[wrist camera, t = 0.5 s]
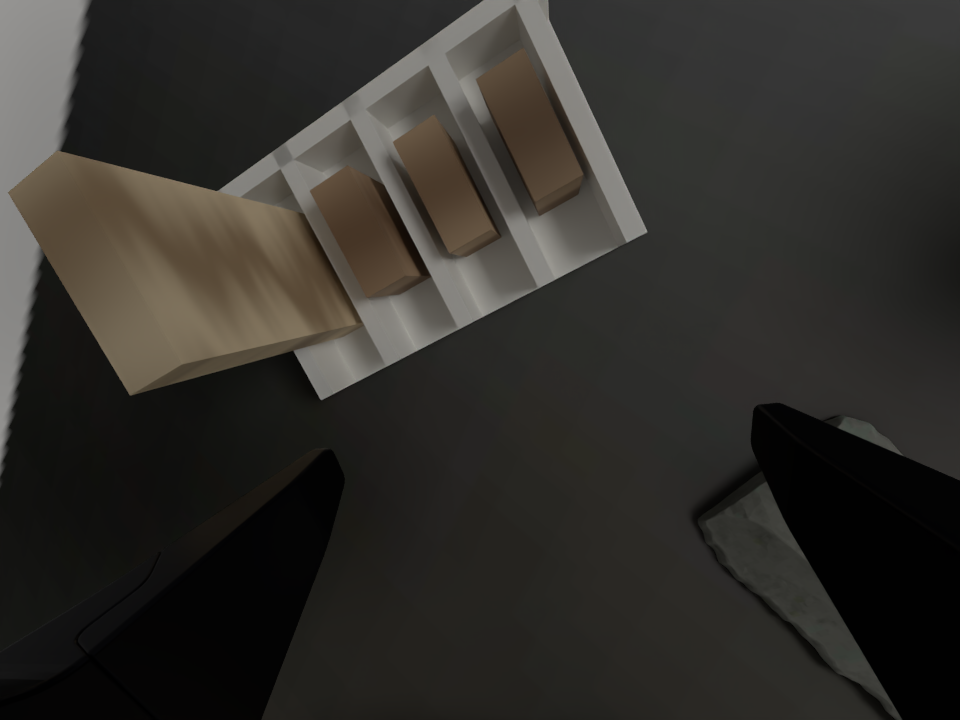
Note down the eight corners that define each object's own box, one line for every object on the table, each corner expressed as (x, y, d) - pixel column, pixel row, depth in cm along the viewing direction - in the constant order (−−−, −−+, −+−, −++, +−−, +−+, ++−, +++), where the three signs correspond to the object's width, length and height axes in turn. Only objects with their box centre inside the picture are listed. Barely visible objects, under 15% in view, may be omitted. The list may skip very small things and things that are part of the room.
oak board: (373, 320, 23) (182, 364, 11) (343, 336, 23) (130, 395, 12) (317, 217, 22) (56, 150, 11) (288, 236, 23) (7, 192, 11)
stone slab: (818, 392, 22) (677, 526, 23) (862, 402, 19) (700, 554, 20) (1135, 682, 22) (979, 800, 23) (1223, 733, 19) (1041, 863, 21)
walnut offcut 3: (578, 194, 20) (583, 174, 16) (539, 216, 20) (535, 201, 16) (530, 93, 19) (523, 47, 16) (491, 117, 20) (475, 79, 16)
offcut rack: (643, 233, 20) (659, 225, 17) (329, 395, 25) (296, 413, 22) (541, 12, 19) (538, -39, 16) (233, 223, 24) (184, 215, 21)
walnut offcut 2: (501, 237, 21) (491, 229, 17) (466, 257, 21) (449, 253, 18) (454, 141, 20) (433, 114, 17) (419, 164, 21) (392, 142, 17)
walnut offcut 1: (432, 276, 22) (405, 275, 18) (399, 294, 22) (366, 297, 18) (385, 185, 21) (347, 165, 17) (353, 206, 22) (309, 190, 18)
